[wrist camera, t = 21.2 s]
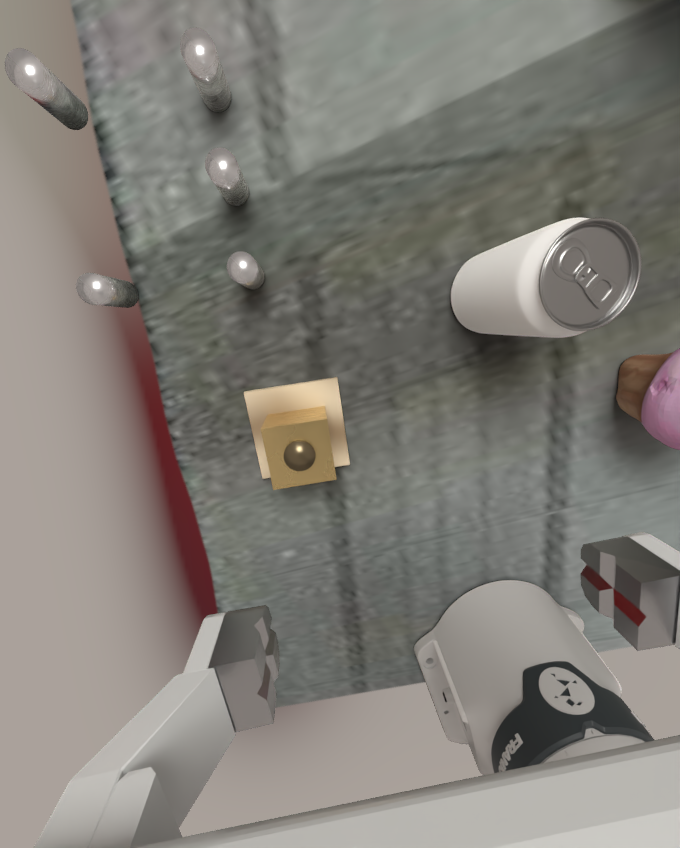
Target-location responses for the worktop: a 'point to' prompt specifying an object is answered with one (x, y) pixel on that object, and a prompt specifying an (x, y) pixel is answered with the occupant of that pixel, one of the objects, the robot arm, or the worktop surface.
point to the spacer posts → (218, 162)
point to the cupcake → (653, 394)
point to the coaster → (297, 399)
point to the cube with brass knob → (298, 447)
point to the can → (550, 281)
